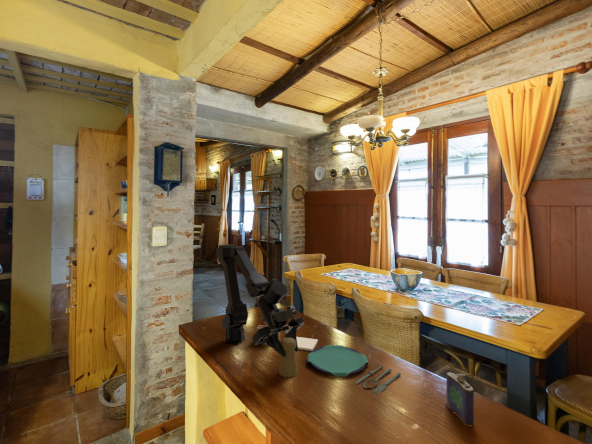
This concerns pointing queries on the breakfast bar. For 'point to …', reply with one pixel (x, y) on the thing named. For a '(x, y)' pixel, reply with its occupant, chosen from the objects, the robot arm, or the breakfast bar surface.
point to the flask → (460, 397)
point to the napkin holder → (260, 328)
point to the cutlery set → (344, 363)
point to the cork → (288, 358)
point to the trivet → (306, 343)
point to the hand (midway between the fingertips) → (291, 353)
